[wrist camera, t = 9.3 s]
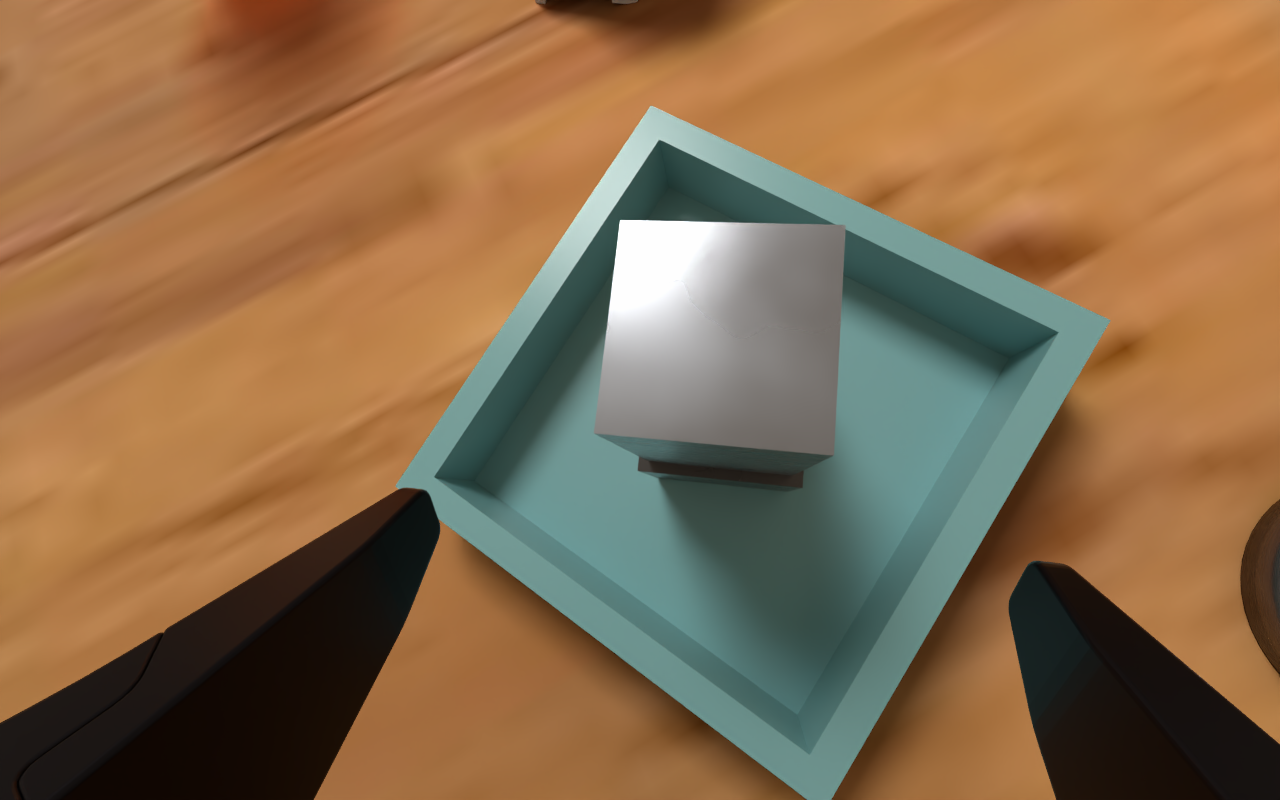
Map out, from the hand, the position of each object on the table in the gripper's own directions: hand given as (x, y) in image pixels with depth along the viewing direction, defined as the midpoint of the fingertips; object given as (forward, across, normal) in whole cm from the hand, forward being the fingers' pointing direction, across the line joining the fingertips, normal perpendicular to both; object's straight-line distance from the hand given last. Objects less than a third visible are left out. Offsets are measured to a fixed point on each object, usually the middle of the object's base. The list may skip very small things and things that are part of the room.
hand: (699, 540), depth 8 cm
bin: (+11, 0, +6) cm, 13 cm away
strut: (+11, 0, +6) cm, 12 cm away
